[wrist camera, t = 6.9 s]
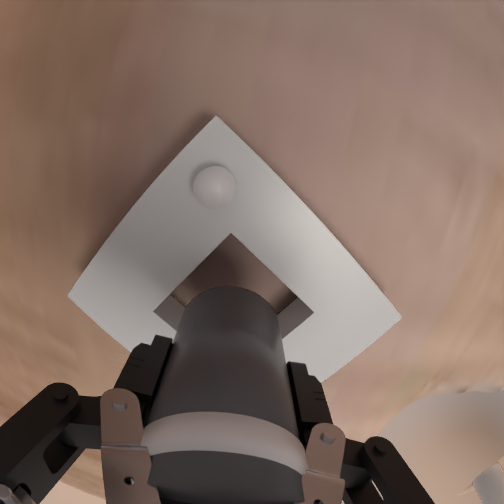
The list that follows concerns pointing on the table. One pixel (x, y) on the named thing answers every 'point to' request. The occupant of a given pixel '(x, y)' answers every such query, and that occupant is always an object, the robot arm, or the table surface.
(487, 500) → the cylindrical container
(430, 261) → the table surface
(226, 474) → the lens
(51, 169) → the table surface
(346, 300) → the plate
